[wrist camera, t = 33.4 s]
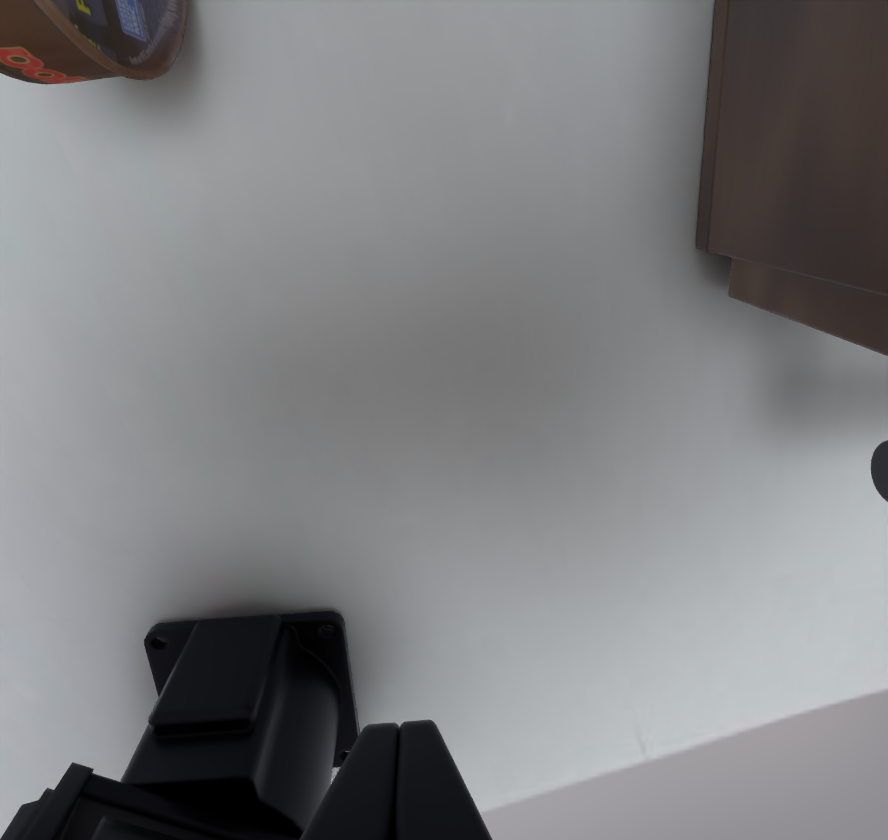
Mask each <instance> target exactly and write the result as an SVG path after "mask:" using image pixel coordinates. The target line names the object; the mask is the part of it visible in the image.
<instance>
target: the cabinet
mask: <svg viewBox="0 0 888 840" xmlns="http://www.w3.org/2000/svg"><path fill="white" fill-rule="evenodd" d="M696 248H697V249H700V250H704V251H708V252H712V253H716V254H720V255H724V256H728V257H732V258H736V259H740V260H744V261H748V262H752V263H756V264H760V265H764V266H768V267H772V268H776V269H780V270H784V271H788V272H792V273H796V274H800V275H804V276H808V277H812V278H816V279H820V280H824V281H828V282H832V283H836V284H840V285H844V286H848V287H852V288H856V289H860V290H864V291H868V292H872V293H876V294H880V295H884V296H888V0H716V2H715V15H714V27H713V39H712V52H711V64H710V77H709V89H708V102H707V114H706V126H705V139H704V151H703V164H702V176H701V189H700V201H699V213H698V226H697V238H696Z"/></svg>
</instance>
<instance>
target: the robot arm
mask: <svg viewBox="0 0 888 840" xmlns="http://www.w3.org/2000/svg"><path fill="white" fill-rule="evenodd" d="M325 625H331V626H332V627H334V629H332V630H328V629H325V628H324V627H323V626H325ZM158 638H163V639H165V640H166V641H167V642H162V641H160V640H159V639H158ZM144 646H145V649H146V653H147V656H148V660H149V664H150V667H151V671H152V674H153V678H154V681H155V685H156V689H157V692H158V696H159V698H158V700H157V702H156V704H155V706H154V708H153V710H152V712H151V714H150V716H149V720H148V722H149V724H148V726H147V728H146V730H145V732H144V734H143V736H142V738H141V740H140V742H139V744H138V746H137V748H136V750H135V753H134V755H133V757H132V759H131V761H130V763H129V765H128V767H127V769H126V771H125V773H124V775H123V777H122V779H121V781H120V782H119V781H116V780H112V779H109V778H106V777H103V776H100V775H96V774H93V773H92V772H93V770H94V769H92V768H89V767H86V766H83V765H79V764H76V763H73V762H72V764H71V765H70V767H69V768H68V770H67V771H66V773H65V774H64V776H63V777H62V779H61V781H60V782H59V784H58V785H57V787H56V788H55V790H52V789H49V788H47V789H46V790H45V792H44V793H43V795H42V796H41V798H40V799H39V800H38V801H34V802H31V803H27V804H23V805H22V806H21V807H20V809H19V811H18V812H17V814H16V815H15V817H14V818H13V820H12V822H11V823H10V825H9V826H8V828H7V830H6V831H5V833H4V834H3V836H2V837H1V839H0V840H492V838H491V836H490V834H489V832H488V830H487V828H486V826H485V824H484V821H483V820H482V817H481V815H480V813H479V811H478V809H477V807H476V805H475V803H474V801H473V799H472V797H471V795H470V793H469V791H468V789H467V787H466V785H465V783H464V781H463V779H462V777H461V774H460V772H459V770H458V768H457V766H456V764H455V762H454V760H453V758H452V756H451V754H450V752H449V750H448V748H447V746H446V744H445V742H444V740H443V738H442V736H441V734H440V732H439V730H438V728H437V726H436V724H435V723H434V722H433V721H432V720H421V721H407V722H403V723H402V724H401V726H400V727H399V726H398V724H396V723H381V724H370V725H367V726H366V727H364V728H363V730H362V731H361V733H360V731H359V724H358V717H357V710H356V702H355V695H354V688H353V681H352V673H351V666H350V659H349V652H348V645H347V637H346V630H345V623H344V620H343V618H342V617H341V616H340V615H339V614H338V613H335V612H332V611H323V612H309V613H296V614H282V615H260V616H247V617H233V618H220V619H206V620H200V621H187V622H173V623H161V624H157V625H154V626H153V627H152V628H151V629H150V631H149V632H148V634H147V636H146V638H145V640H144ZM345 751H350V752H345ZM334 767H341V768H340V770H339V771H338V773H337V775H336V777H335V778H334V780H333V782H332V784H331V785H330V782H331V775H332V768H334Z"/></svg>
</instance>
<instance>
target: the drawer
mask: <svg viewBox="0 0 888 840" xmlns="http://www.w3.org/2000/svg"><path fill="white" fill-rule="evenodd" d="M728 295H729V296H730V297H732V298H735V299H738V300H740V301H743V302H746V303H748V304H751V305H753V306H756V307H759V308H761V309H764V310H767V311H769V312H772V313H775V314H777V315H780V316H783V317H785V318H788V319H791V320H793V321H796V322H799V323H801V324H804V325H807V326H809V327H812V328H815V329H817V330H820V331H823V332H825V333H828V334H831V335H833V336H836V337H839V338H841V339H844V340H847V341H849V342H852V343H855V344H857V345H860V346H863V347H865V348H868V349H871V350H873V351H876V352H879V353H881V354H884V355H887V356H888V296H884V295H880V294H876V293H872V292H868V291H864V290H860V289H856V288H852V287H848V286H844V285H840V284H836V283H832V282H828V281H824V280H820V279H816V278H812V277H808V276H804V275H800V274H796V273H792V272H788V271H784V270H780V269H776V268H772V267H768V266H764V265H760V264H756V263H752V262H748V261H744V260H740V259H736V258H732V259H731V269H730V279H729V289H728ZM871 475H872V479H873V483H874V485H875V487H876V489H877V491H878V492H879V494H880V495H881V496H882V497H883V498H884V499H885V500H886V501H887V502H888V440H887V441H884V442H883V443H881V444H880V445H879V446H878V447H877V448H876V449H875V451H874V453H873V456H872V460H871Z"/></svg>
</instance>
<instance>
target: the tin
mask: <svg viewBox="0 0 888 840" xmlns="http://www.w3.org/2000/svg"><path fill="white" fill-rule="evenodd" d="M186 17H187V0H0V73H2V74H4V75H7V76H9V77H12V78H16V79H19V80H22V81H26V82H31V83H38V84H60V83H73V82H80V81H87V80H95V79H102V78H110V77H118V76H124V77H126V78H131V79H137V80H149V79H154V78H156V77H159V76H161V75H163V74H164V73H165V72H167V71H168V70H169V68H170V67H171V66H172V65H173V63H174V61H175V59H176V57H177V55H178V53H179V51H180V48H181V44H182V41H183V36H184V31H185V24H186Z"/></svg>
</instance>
